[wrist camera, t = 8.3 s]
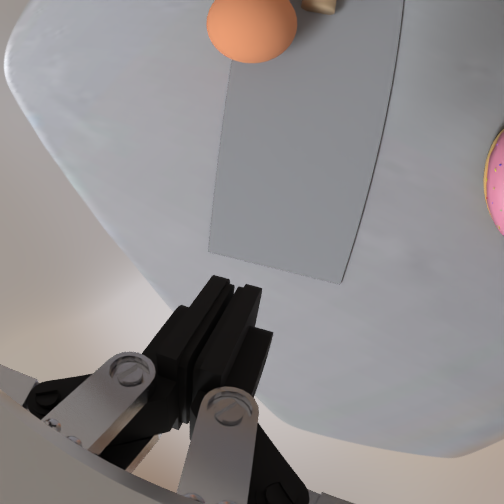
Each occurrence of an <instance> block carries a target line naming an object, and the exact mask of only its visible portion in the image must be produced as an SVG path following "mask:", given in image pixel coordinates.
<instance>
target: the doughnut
mask: <svg viewBox="0 0 504 504" xmlns="http://www.w3.org/2000/svg"><path fill="white" fill-rule="evenodd" d="M484 194H485V200H486V204H487V207H488V210H489V213H490V215H491V217H492V219H493V221H494V223H495V225H496V227H497V228H498V230H499V231H500V233H501V234H502V235H503V236H504V129H503V130H502V131H501V132H500V133H499V134H498V136H497V137H496V139H495V140H494V142H493V144H492V146H491V148H490V150H489V153H488V156H487V159H486V164H485V169H484Z"/></svg>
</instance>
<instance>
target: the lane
mask: <svg viewBox="0 0 504 504" xmlns="http://www.w3.org/2000/svg"><path fill="white" fill-rule="evenodd" d="M289 1H290V3H291V4H292V6H293V8H294V10H295V13H296V17H297V31H296V34H295V37H294V39H293V41H292V43H291V44H290V46H289V47H288V48H287V49H286V50H285V51H284V52H283V53H282V54H280V55H279V56H277V57H276V58H274V59H271V60H269V61H266V62H261V63H242V62H238V61H235V60H232V62H231V68H230V75H229V82H228V88H227V95H226V102H225V109H224V116H223V124H222V131H221V139H220V147H219V155H218V163H217V171H216V180H215V189H214V198H213V207H212V216H211V226H210V236H209V246H208V252H210V253H214V254H218V255H222V256H226V257H230V258H234V259H238V260H242V261H246V262H250V263H254V264H258V265H262V266H266V267H270V268H274V269H278V270H282V271H286V272H290V273H294V274H298V275H302V276H306V277H310V278H314V279H318V280H322V281H326V282H331V283H335V284H339V285H340V283H341V280H342V277H343V274H344V271H345V268H346V265H347V262H348V259H349V255H350V252H351V249H352V246H353V242H354V239H355V236H356V232H357V229H358V226H359V222H360V219H361V215H362V211H363V208H364V204H365V201H366V197H367V193H368V189H369V186H370V182H371V178H372V174H373V170H374V166H375V162H376V157H377V153H378V149H379V144H380V140H381V136H382V131H383V126H384V122H385V117H386V112H387V107H388V102H389V96H390V91H391V86H392V80H393V74H394V68H395V62H396V55H397V49H398V42H399V34H400V27H401V18H402V9H403V0H337V1H336V7H335V13H334V14H333V15H327V14H321V13H315V12H309V11H306V10H304V9H302V8H301V4H302V0H289Z"/></svg>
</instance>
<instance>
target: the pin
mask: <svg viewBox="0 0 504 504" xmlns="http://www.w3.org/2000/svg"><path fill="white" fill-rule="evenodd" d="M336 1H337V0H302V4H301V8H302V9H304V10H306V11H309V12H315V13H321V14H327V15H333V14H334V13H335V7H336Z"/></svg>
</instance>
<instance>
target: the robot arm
mask: <svg viewBox="0 0 504 504" xmlns="http://www.w3.org/2000/svg"><path fill="white" fill-rule="evenodd" d="M261 294H262V288H259V287H256V286H252V285H248V284H246V285H245V286H244V288H243V287H238V288H237V290H236V292H235V293H234V285H232V284H230V280H229V279H226V278H223V277H219V276H215V275H213V276H212V277H211V278H210V280H209V281H208V282H207V284H206V285H205V286H204V288H203V289H202V291H201V292H200V293H199V295H198V296H197V297H196V299H195V300H194V301H193V303H192V304H191V306H190V307H186V306H183V305H180V306H179V307H178V308H177V309H176V310H175V311H174V313H173V314H172V315H171V316H170V318H169V319H168V320H167V322H166V323H165V324H164V325H163V327H162V328H161V329H160V331H159V332H158V333H157V334H156V336H155V337H154V338H153V340H152V341H151V342H150V344H149V345H148V346H147V348H146V349H145V350H144V351H143V353H142V354H139V353H136V352H123V353H120V354H116V355H115V356H113V357H112V358H110V359H109V360H108V361H107V362H105V363H104V364H103V365H102V366H101V367H100V368H99V369H98V370H96V371H95V372H94V373H93V374H88V375H83V376H77V377H71V378H65V379H58V380H51V381H46V382H42V383H38V381H37V379H35V378H32V377H30V376H27V375H25V374H22V373H20V372H17V371H15V370H12V369H10V368H8V367H5V366H3V365H1V364H0V504H354V503H351V502H348V501H345V500H342V499H339V498H336V497H334V496H331V495H328V494H326V493H323V492H322V493H321V494H318V493H316V492H313V491H311V490H308V489H307V488H306V486H305V484H304V483H303V482H302V481H301V480H300V478H299V477H298V476H297V474H296V473H295V472H294V471H293V469H292V468H291V467H290V465H289V464H288V463H287V462H286V460H285V459H284V457H283V456H282V455H281V454H280V452H279V451H278V450H277V448H276V447H275V446H274V444H273V443H272V441H271V440H270V439H269V437H268V436H267V435H266V433H265V432H264V430H263V429H262V428H261V426H260V425H259V423H258V415H259V410H258V405H257V403H256V401H255V399H254V395H255V392H256V389H257V386H258V383H259V380H260V378H261V375H262V372H263V368H264V365H265V362H266V359H267V355H268V352H269V348H270V344H271V340H272V336H273V332H271V331H267V330H263V329H260V328H256V327H255V323H256V318H257V313H258V308H259V304H260V299H261ZM189 421H190V440H191V442H190V445H189V449H188V453H187V457H186V460H185V464H184V467H183V471H182V475H181V478H180V482H179V486H178V489H177V493H175V492H172V491H170V490H167V489H164V488H162V487H160V486H157V485H155V484H153V483H151V482H148V481H146V480H144V479H142V478H140V477H137V476H135V475H133V474H131V473H132V472H133V471H134V470H135V468H136V467H137V466H138V465H139V463H140V462H141V461H142V460H143V459H144V457H145V456H146V455H147V454H148V453H149V451H150V450H151V449H152V448H153V446H154V445H155V444H156V443H157V442H158V440H159V439H160V437H161V435H162V433H165V432H169V431H170V430H171V428H174V429H177V430H179V428H180V426H181V425H182V423H186V424H188V423H189Z"/></svg>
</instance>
